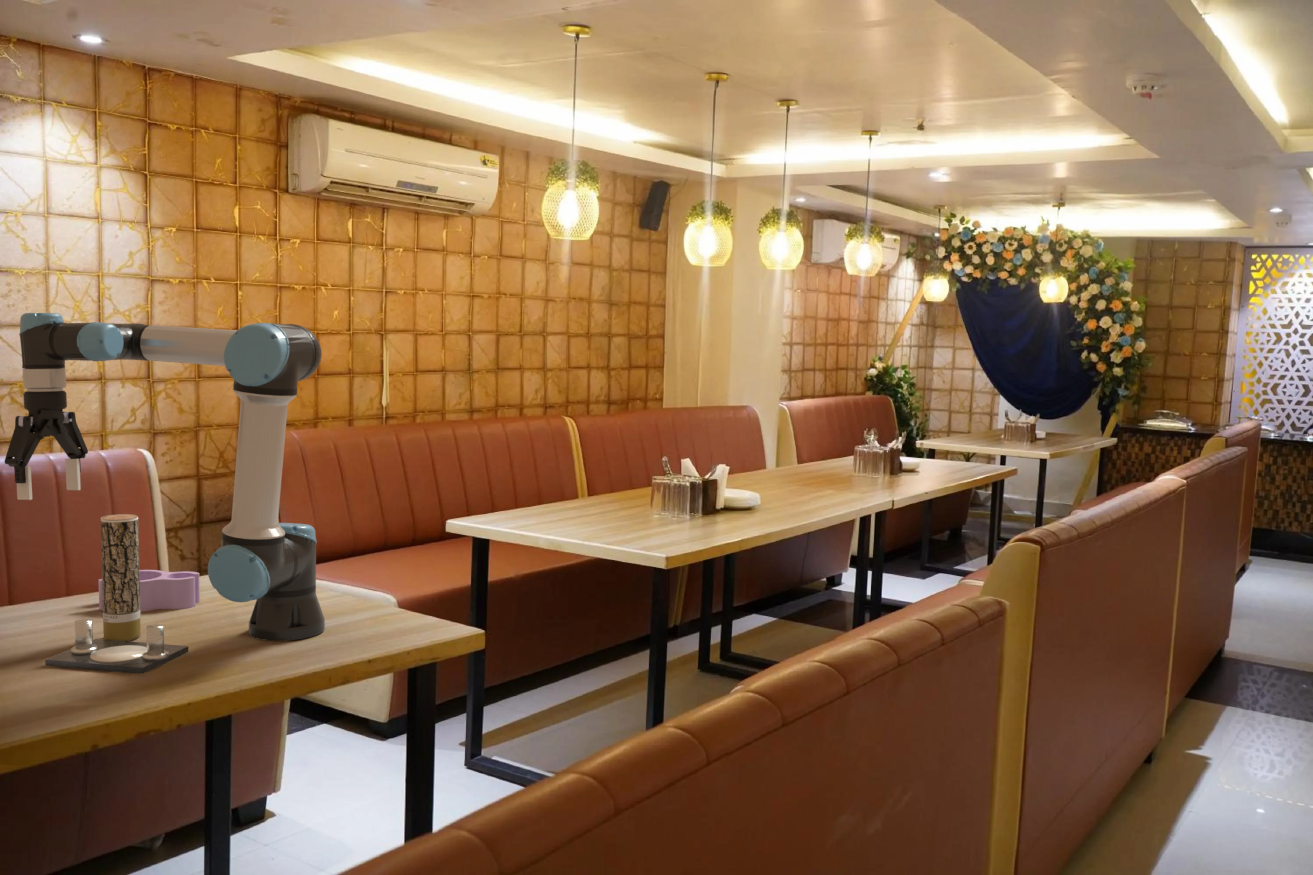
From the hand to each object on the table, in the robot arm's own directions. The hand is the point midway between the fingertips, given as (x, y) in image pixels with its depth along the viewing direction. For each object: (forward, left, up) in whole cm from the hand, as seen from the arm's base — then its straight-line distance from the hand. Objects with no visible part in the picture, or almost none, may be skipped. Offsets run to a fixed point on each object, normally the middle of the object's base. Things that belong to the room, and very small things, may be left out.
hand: (50, 494), depth 215 cm
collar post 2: (-32, +13, -28) cm, 44 cm away
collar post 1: (-17, +13, -28) cm, 35 cm away
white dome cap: (-24, +13, -28) cm, 39 cm away
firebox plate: (-23, +12, -29) cm, 39 cm away
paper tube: (-15, 0, -29) cm, 33 cm away
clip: (-4, -25, -29) cm, 39 cm away
